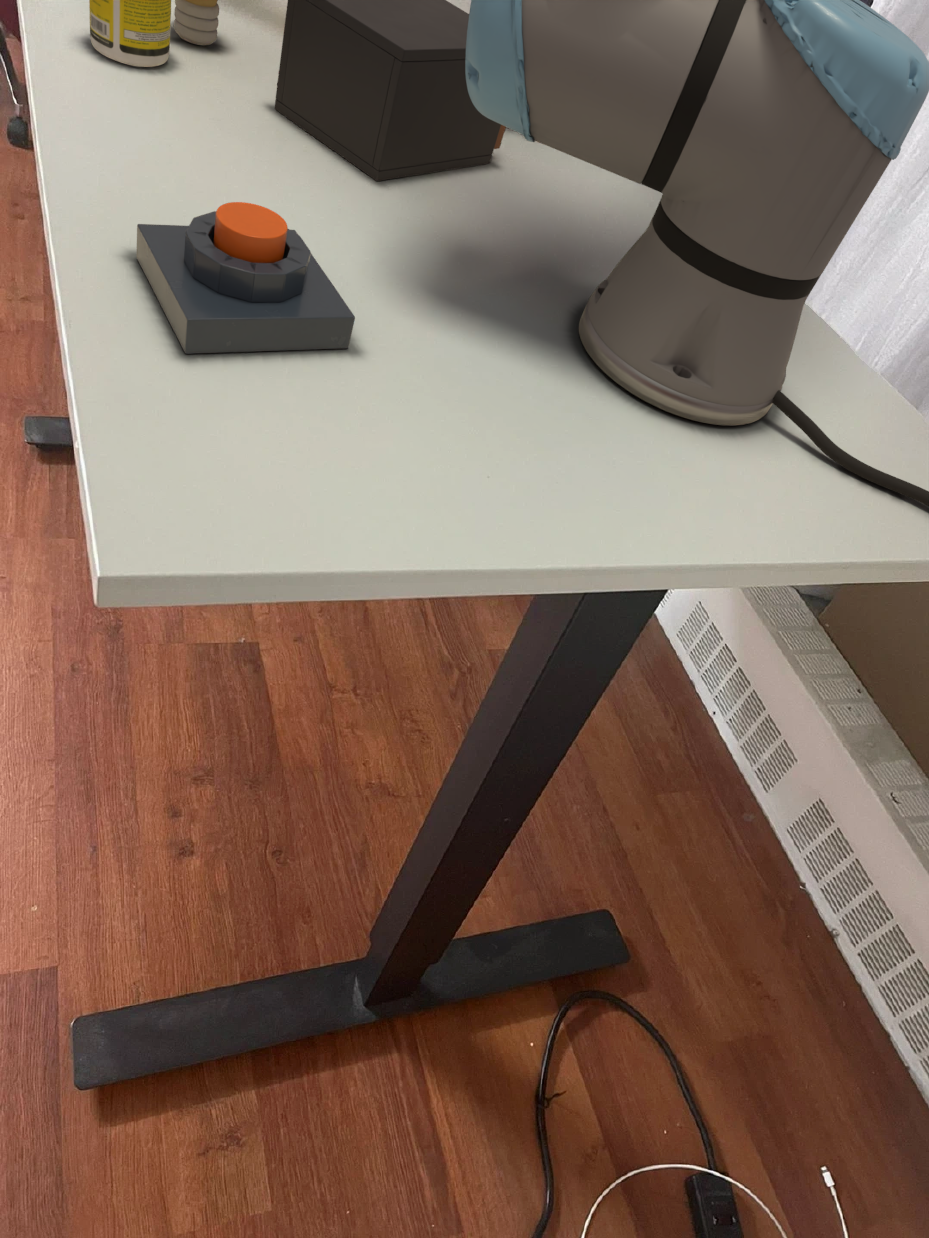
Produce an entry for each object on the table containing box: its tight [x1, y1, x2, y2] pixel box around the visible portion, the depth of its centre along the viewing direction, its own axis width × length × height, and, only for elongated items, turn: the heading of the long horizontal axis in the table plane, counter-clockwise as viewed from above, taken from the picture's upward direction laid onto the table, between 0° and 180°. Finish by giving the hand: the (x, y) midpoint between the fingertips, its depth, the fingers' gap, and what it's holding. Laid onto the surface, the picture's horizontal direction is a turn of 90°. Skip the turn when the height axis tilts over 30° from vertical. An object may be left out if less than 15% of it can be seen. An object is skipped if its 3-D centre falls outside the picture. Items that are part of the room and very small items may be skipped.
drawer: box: [494, 125, 507, 150], centre depth 77 cm, size 15×11×8 cm
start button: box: [214, 201, 289, 263], centre depth 52 cm, size 4×4×2 cm
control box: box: [135, 210, 356, 355], centre depth 54 cm, size 10×10×4 cm
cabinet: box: [274, 0, 501, 182], centre depth 75 cm, size 15×13×10 cm
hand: (482, 85), depth 84 cm, fingers closed
